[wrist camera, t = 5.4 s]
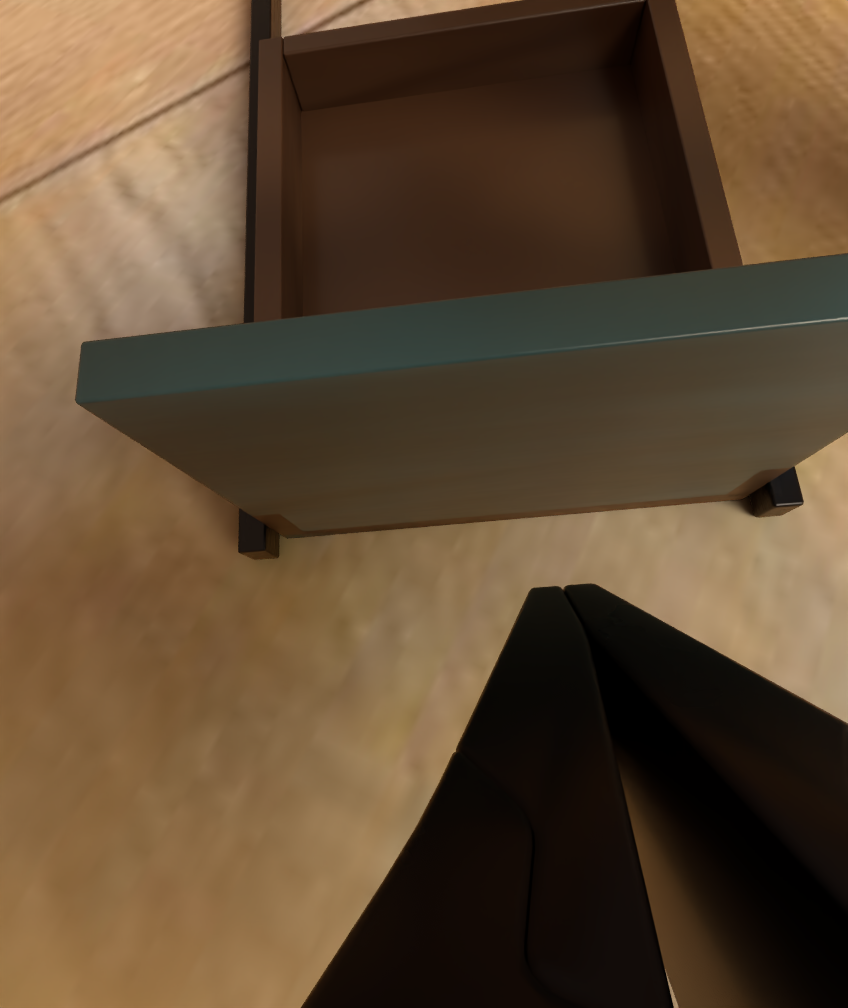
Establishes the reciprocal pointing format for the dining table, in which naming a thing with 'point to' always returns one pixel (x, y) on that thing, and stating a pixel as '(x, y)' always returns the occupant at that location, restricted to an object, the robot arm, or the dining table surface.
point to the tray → (489, 289)
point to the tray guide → (252, 532)
